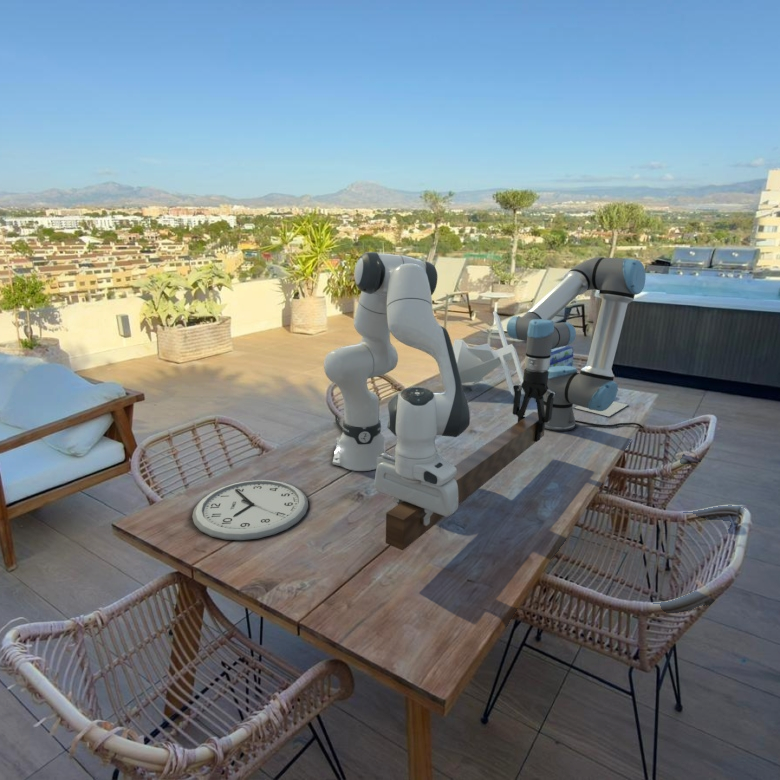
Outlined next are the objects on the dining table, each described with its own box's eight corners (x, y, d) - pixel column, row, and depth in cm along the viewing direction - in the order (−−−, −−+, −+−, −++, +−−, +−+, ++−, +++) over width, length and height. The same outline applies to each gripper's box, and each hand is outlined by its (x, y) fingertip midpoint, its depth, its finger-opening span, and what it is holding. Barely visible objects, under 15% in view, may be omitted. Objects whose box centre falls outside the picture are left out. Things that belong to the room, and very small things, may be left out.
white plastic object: (461, 429, 252) (437, 405, 227) (444, 352, 274) (420, 323, 250) (535, 404, 240) (518, 377, 215) (510, 326, 262) (492, 293, 237)
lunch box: (545, 397, 238) (550, 352, 231) (524, 391, 245) (529, 348, 239) (572, 386, 255) (578, 344, 249) (552, 381, 262) (557, 340, 256)
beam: (530, 432, 178) (532, 411, 176) (543, 435, 175) (546, 414, 173) (385, 543, 113) (386, 512, 111) (402, 550, 111) (403, 519, 108)
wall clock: (304, 532, 127) (176, 536, 124) (304, 538, 127) (177, 542, 125) (311, 475, 155) (207, 478, 153) (311, 480, 156) (208, 483, 153)
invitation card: (608, 416, 214) (573, 407, 224) (608, 416, 214) (573, 408, 224) (628, 404, 229) (594, 396, 238) (628, 405, 229) (594, 397, 238)
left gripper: (368, 455, 116) (368, 510, 120) (448, 481, 105) (445, 541, 109) (385, 446, 121) (385, 499, 125) (463, 470, 109) (460, 528, 113)
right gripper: (505, 366, 166) (499, 434, 173) (559, 377, 156) (551, 449, 163) (515, 362, 172) (509, 428, 179) (568, 372, 161) (560, 441, 168)
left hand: (413, 519), depth 117 cm, fingers closed on beam, 4 cm apart
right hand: (529, 438), depth 171 cm, fingers closed on beam, 5 cm apart
